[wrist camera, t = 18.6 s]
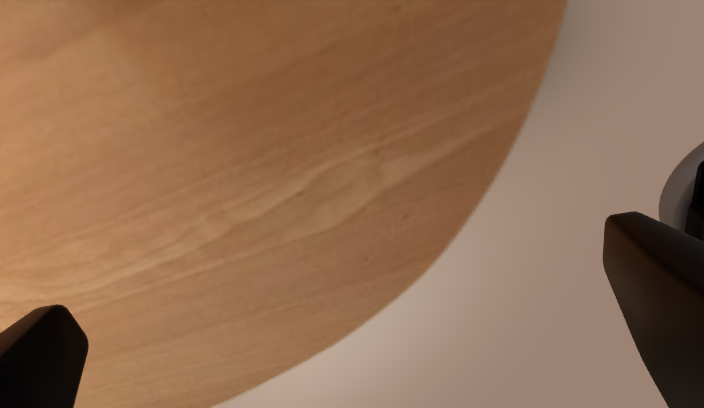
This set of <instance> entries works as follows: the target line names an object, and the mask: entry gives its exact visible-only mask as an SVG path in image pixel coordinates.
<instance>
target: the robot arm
mask: <svg viewBox="0 0 704 408" xmlns="http://www.w3.org/2000/svg"><path fill="white" fill-rule="evenodd" d="M603 264H604V269H605V272H606V275H607V277H608V280H609V282H610V284H611V287H612V289H613V292H614V294H615V296H616V299H617V301H618V304H619V306H620V308H621V311H622V313H623V316H624V318H625V320H626V323H627V325H628V327H629V330H630V332H631V335H632V337H633V340H634V341H635V344H636V347H637V349H638V351H639V353H640V356H641V358H642V360H643V362H644V364H645V366H646V367H647V369H648V371H649V373H650V375H651V377H652V379H653V380H654V382H655V384H656V386H657V387H658V389H659V391H660V393H661V394H662V396H663V398H664V400H665V401H666V403H667V405H668V407H669V408H704V161H702V162H701V163H700V164H699V165H698V168H697V173H696V179H695V185H694V191H693V197H692V202H691V203H690V205H689V207H688V213H687V219H686V225H685V231H684V232H681V231H679V230H677V229H675V228H673V227H670V226H668V225H666V224H664V223H662V222H659V221H657V220H655V219H653V218H650V217H648V216H646V215H644V214H642V213H639V212H627V213H621V214H614V215H610V216H609V217H608V218H607V219H606V222H605V231H604V247H603ZM87 353H88V339H87V336H86V335H85V333H84V332H83V330H82V329H81V327H80V326H79V324H78V323H77V322H76V320H75V319H74V317H73V316H72V314H71V313H70V312H69V310H68V309H67V308H66V307H64V306H63V305H51V306H44V307H39V308H37V309H35V310H33V311H31V312H30V313H29V314H27V315H26V316H24V317H23V318H21V319H20V320H19V321H17V322H16V323H14V324H13V325H11V326H10V327H8V328H7V329H6V330H4V331H3V332H1V333H0V408H73V407H74V403H75V399H76V395H77V391H78V387H79V384H80V380H81V376H82V372H83V368H84V364H85V361H86V357H87Z"/></svg>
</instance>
